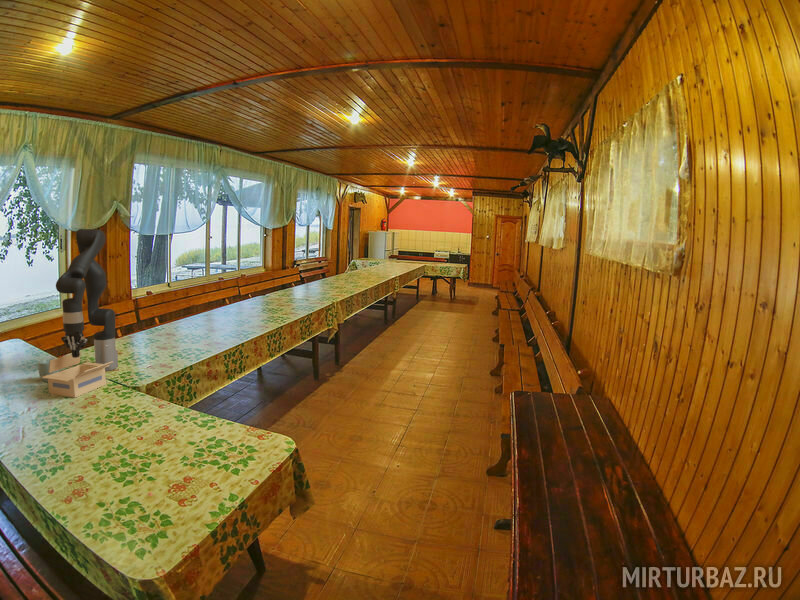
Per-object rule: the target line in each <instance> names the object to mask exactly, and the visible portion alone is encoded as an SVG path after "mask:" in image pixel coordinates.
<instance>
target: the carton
mask: <svg viewBox="0 0 800 600" xmlns="http://www.w3.org/2000/svg"><path fill="white" fill-rule="evenodd" d="M100 365H103V364H98V363H95V362H89V361H86V362H84V363H81V364H79V365H78V364H77V365H76V366H75V365H74V366H71V367H69V368H66V369H63V370H60V372H57V373H54V374H51V375H46V376H43V377H41V378H45V379H48V382H47V384H48V386H47V387H48V394H49V395H52V396H53V395H54V396H58V397H64V398H65V397H66V398H71V397H72V399H73V398H74V399H77V398H78V396H79V397H81V396H84V395H86V394H89V393H91V392H93V391H92V390H94V391H96V390H98V389H97V388H99V387H101V386H104V385H106V386H107V382H106V380H107V379H106V371H105V367H104V368H101V369H98V370H95V371H92V372H90V373H87V374H84V375H81V376H78V377H76V376H77V375H79V374H80V373H82V372H84V371H86V370H89V369H92V368H95V367H97V366H100ZM108 366H110V365H107V366H106V367H108ZM41 378H40V379H41ZM104 387H105V386H104ZM101 388H102V387H101ZM95 389H96V390H95ZM99 389H100V388H99ZM90 391H91V392H90ZM88 392H89V393H88ZM85 393H86V394H85ZM83 394H84V395H83ZM80 395H81V396H80ZM76 397H77V398H76Z"/></svg>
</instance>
